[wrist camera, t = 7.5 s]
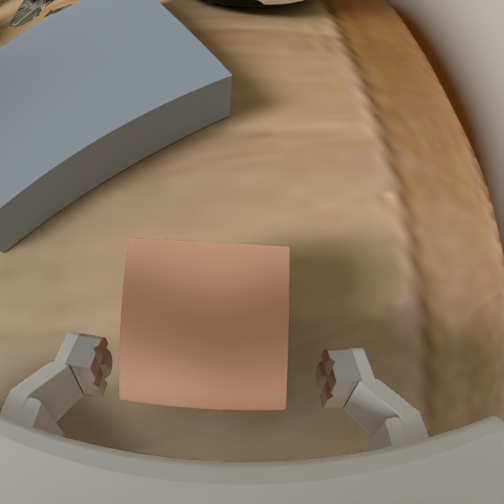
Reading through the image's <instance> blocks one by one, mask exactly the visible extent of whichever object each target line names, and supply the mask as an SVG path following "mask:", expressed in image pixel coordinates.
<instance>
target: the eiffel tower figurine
mask: <svg viewBox="0 0 504 504" xmlns="http://www.w3.org/2000/svg"><path fill="white" fill-rule="evenodd" d="M53 1H54V0H24V1H23V3H22V4H21V6H20V7H19V9H18V11H17V12H16V14H15V16H14V18H13V19H12V21H11V23H10V25H9V26H15V27H17V26H20V25H23V24H25V23H26V22H29V21H31V20H32V19H34V18H35V17H37V16H39V13H40V12H41V6H44V7H46V6H47V5H48V4H50V3H51V2H53ZM69 6H71V4H70V5H67V6H65V7H62V8H60V9H56V10H55V11H52V10H50V11H49V13H48V14H47V15H46V16H48V15H50V14H53V13H55V12H57V11H60V10H62V9H65V8H67V7H69ZM46 16H45V17H46Z"/></svg>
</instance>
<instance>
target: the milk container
mask: <svg viewBox="0 0 504 504" xmlns="http://www.w3.org/2000/svg"><path fill="white" fill-rule="evenodd" d="M202 1H208V2H213V3H216V4H220V5H229V6H241V7H250V8H252V7H279V6H284V5H290V4H296V3H300V2H304V1H306V0H202Z"/></svg>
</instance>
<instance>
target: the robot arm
mask: <svg viewBox="0 0 504 504" xmlns="http://www.w3.org/2000/svg"><path fill="white" fill-rule="evenodd" d="M107 345H108V343H107V340H106V338H105V337H100V336H94V335H88V334H83V333H77V332H71V331H70V332H69V333H68V334H67V335H66V337H65V339H64V341H63V343H62V346H61V348H60V350H59V352H58V354H57V356H56V358H55V360H54V362H52V361H51V362H49V363H48V364H46V365H45V366H43V367H42V368H40V369H39V370H38V371H36V372H35V373H33V374H32V375H30V376H29V377H28V378H26V379H25V380H23V381H22V382H21V383H19V384H18V385H16V386H15V387H13V388H12V389H11V390H10V392H9V394H8V396H7V398H6V400H5V403H4V405H3V407H2V410H1V412H0V504H504V420H503V419H502V418H500V417H498V416H490V417H487V418H484V419H482V420H479V421H477V422H474V423H471V424H468V425H466V426H463V427H460V428H457V429H454V430H451V431H448V432H444V433H441V434H438V435H434V436H431V437H429V435H428V433H427V430H426V427H425V425H424V422H423V420H422V417H421V415H420V412H419V411H418V410H417V409H415V408H414V407H413V406H412V405H410V404H409V403H408V402H407V401H405V400H404V399H403V398H402V397H400V396H399V395H398V394H397V393H395V392H394V391H393V390H392V389H390V388H389V387H388V386H387V385H385V384H384V383H383V382H382V381H380V380H379V379H375V377H374V374H373V372H372V369H371V367H370V364H369V361H368V359H367V356H366V354H365V351H364V349H363V348H362V347H361V348H338V349H325V350H324V351H323V353H322V359H323V360H322V361H321V362H320V363H319V364H318V367H317V372H316V379H317V385H318V387H319V388H321V389H322V391H321V394H320V398H321V403H322V407H323V409H334V408H343V409H344V410H345V411H346V412H347V414H348V415H349V416H350V417H351V418H352V419H353V420H354V421H355V422H356V423H357V425H358V426H359V427H360V428H361V429H362V430H363V431H364V432H365V433H366V434H367V435H368V437H369V438H370V440H369V441H368V442H367V443H366V445H365V446H364V447H363V448H362V449H361V451H362V452H359V453H352V454H346V455H338V456H331V457H322V458H312V459H300V460H285V461H256V462H237V461H208V460H193V459H181V458H171V457H163V456H155V455H148V454H141V453H135V452H129V451H123V450H118V449H113V448H108V447H103V446H98V445H94V444H90V443H86V442H82V441H78V440H74V439H70V438H66V437H64V433H63V431H62V430H61V429H60V427H59V426H58V425H57V424H56V422H57V421H58V420H59V419H60V418H61V417H62V416H63V415H64V414H65V413H66V412H67V411H68V410H69V409H70V408H71V407H72V406H73V405H74V404H75V403H76V402H77V401H78V400H79V399H80V398H82V397H83V396H84V395H83V394H85V395H91V396H97V397H103V396H104V393H105V389H106V386H107V382H106V380H105V378H106V377H108V376H109V375H110V373H111V369H112V355H111V352H110V351H109V350H108V349H107Z"/></svg>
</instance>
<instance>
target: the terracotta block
mask: <svg viewBox="0 0 504 504" xmlns="http://www.w3.org/2000/svg"><path fill="white" fill-rule="evenodd" d="M289 282H290V247H288V246H270V245H252V244H234V243H216V242H197V241H178V240H159V239H139V238H129V240H128V248H127V257H126V265H125V275H124V286H123V297H122V311H121V328H120V353H119V400H125V401H132V402H139V403H147V404H155V405H164V406H174V407H186V408H200V409H219V410H286V394H287V369H288V337H289Z"/></svg>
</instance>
